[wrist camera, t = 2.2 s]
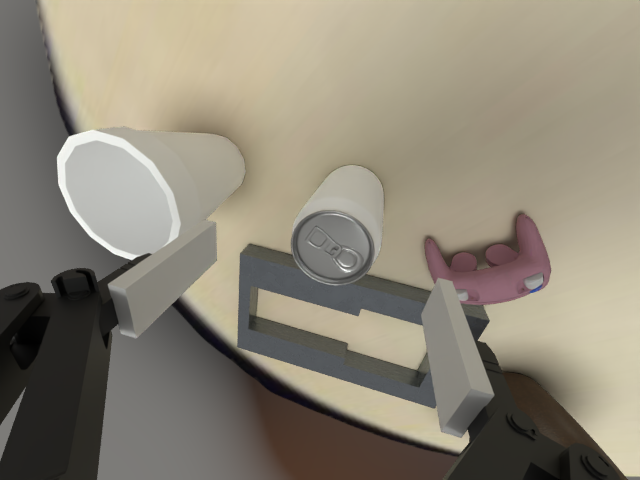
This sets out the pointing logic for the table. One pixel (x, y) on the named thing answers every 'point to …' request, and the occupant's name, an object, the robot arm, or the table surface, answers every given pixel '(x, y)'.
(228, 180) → the foam cup
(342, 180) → the can
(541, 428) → the plant pot
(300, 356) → the keyhole plate
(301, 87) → the table surface
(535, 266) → the video game controller
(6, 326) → the robot arm
